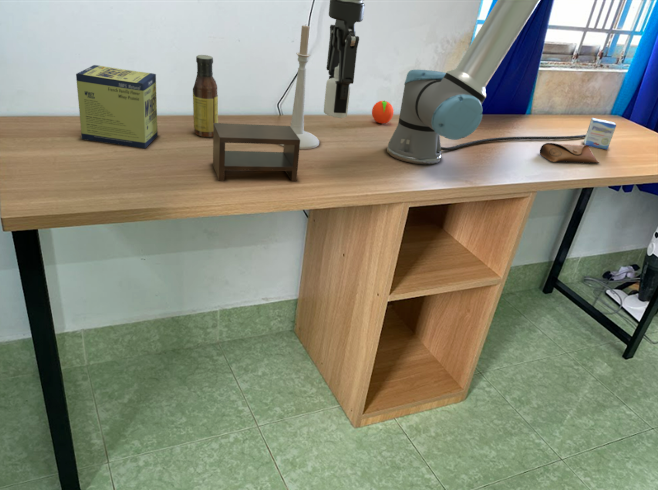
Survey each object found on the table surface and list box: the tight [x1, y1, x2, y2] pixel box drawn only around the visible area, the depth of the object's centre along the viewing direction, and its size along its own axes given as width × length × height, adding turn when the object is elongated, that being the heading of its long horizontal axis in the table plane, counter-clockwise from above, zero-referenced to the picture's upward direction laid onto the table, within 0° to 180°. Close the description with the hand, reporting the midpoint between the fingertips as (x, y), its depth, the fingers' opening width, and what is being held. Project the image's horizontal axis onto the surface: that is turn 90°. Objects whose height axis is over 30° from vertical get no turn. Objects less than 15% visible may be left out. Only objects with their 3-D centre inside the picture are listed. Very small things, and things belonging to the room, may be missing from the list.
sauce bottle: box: [192, 54, 219, 138], centre depth 158 cm, size 6×6×20 cm
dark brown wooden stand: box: [212, 122, 300, 182], centre depth 143 cm, size 18×10×10 cm, turn 109°
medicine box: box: [583, 117, 617, 151], centre depth 209 cm, size 8×4×9 cm, turn 76°
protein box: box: [75, 64, 159, 149], centre depth 148 cm, size 10×16×16 cm
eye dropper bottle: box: [323, 65, 351, 119], centre depth 141 cm, size 4×6×12 cm
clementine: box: [371, 100, 395, 125], centre depth 195 cm, size 8×7×7 cm
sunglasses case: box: [539, 142, 600, 165], centre depth 192 cm, size 18×7×7 cm
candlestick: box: [278, 25, 320, 150], centre depth 162 cm, size 13×13×30 cm
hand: (335, 108), depth 143 cm, fingers closed on eye dropper bottle, 5 cm apart
